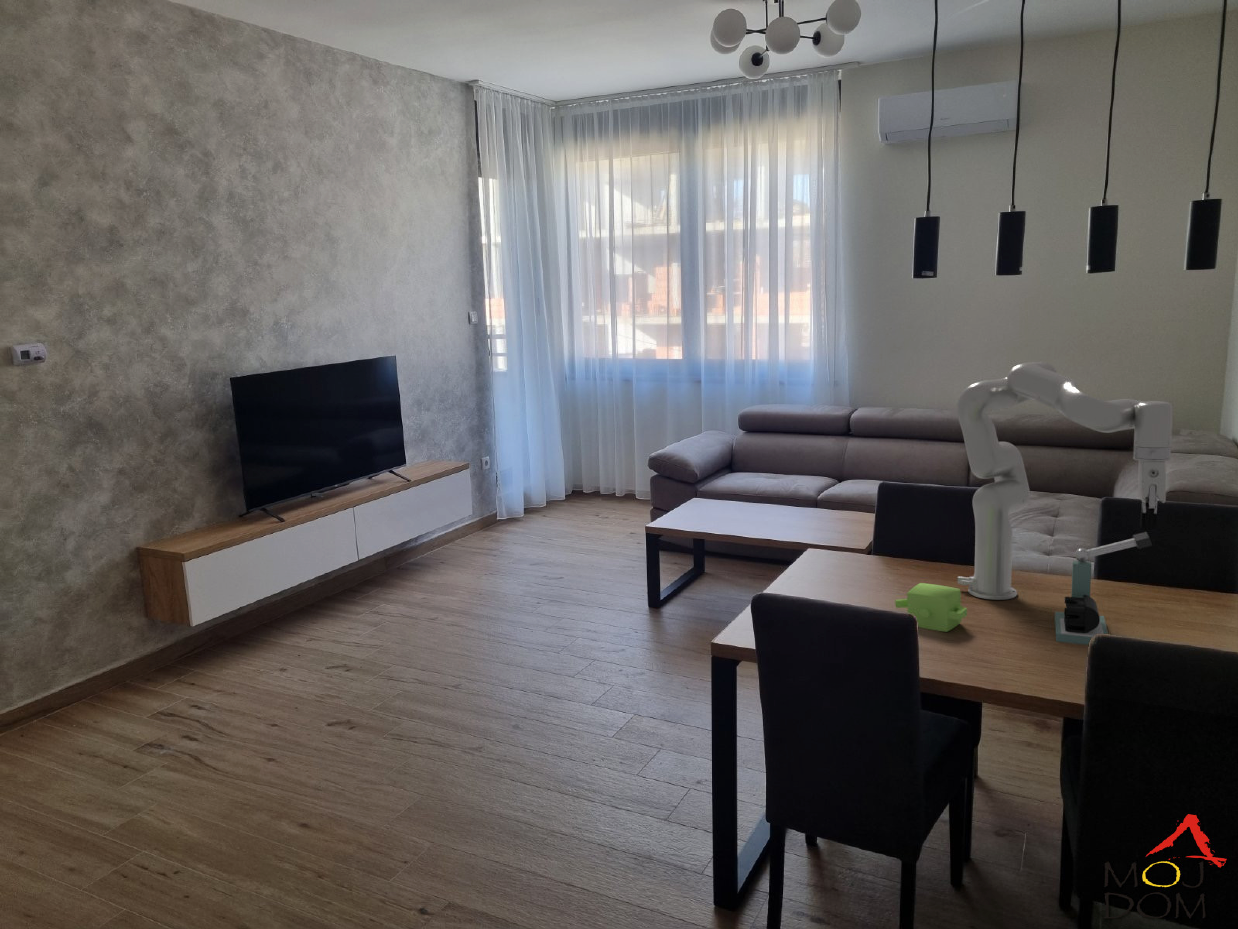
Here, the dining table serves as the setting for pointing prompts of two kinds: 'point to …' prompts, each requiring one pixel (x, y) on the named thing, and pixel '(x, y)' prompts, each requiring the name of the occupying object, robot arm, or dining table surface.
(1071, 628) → the end cap
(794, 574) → the dining table surface
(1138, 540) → the press lever
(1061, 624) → the press frame
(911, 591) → the gearbox
